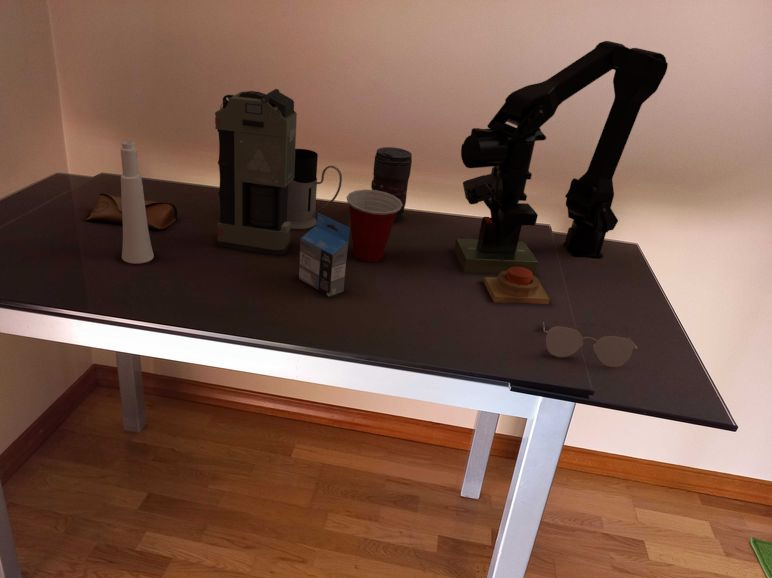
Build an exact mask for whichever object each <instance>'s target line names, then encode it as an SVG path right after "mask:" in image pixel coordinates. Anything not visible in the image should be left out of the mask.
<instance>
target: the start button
mask: <svg viewBox="0 0 772 578" xmlns="http://www.w3.org/2000/svg"><path fill="white" fill-rule="evenodd" d="M532 275H533V273H532V272H531V271H530V270H529V269H526V268H523V267H511V268H509V269H508V272H507V277H506V280H507V281H509V282H511V283H514V284H518V285H528V284H530V283H531V279H532ZM533 276H534V275H533Z"/></svg>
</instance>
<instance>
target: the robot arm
mask: <svg viewBox="0 0 772 578" xmlns="http://www.w3.org/2000/svg"><path fill="white" fill-rule="evenodd" d="M668 65H669V63H668V62H667V58H666V56H665V55H664V54H662V53H660V52H658V51H652V50H647V49H643V48H639V47H630V48H629V47H627V46H625V45H624V44H622V43H620V42H614V41H611V40H604V41H601V42H598V44H596V45H595V47H594V48H593V49H592V50H589V51H588V52H587V53H586V54H583V56H581V57H579V58H578V59H576V60H575V61H573V62H572V63H570V64H569V65H567V66H566V67H564V68H562V69H561V70H560V71H558V72H557V73H555V74H554V75H552V76H551V77H549V78H548V79H545V80H543V81H540V82H537V83H532V84H527V85H525V86H523V87H521V88H519V89H516V90H515V91H512V92H510V94H509V95H508V96H507V97H506V98H505V100H504V101H505V102H504V103H503V105H502V106H501V107H500V109H499V110H498V111H497V112H496V113H495V115H494V116H493V117H492V119H491V120H490V121H489V123H488V124H487V128H480V127H473V128H471V132H470V135H468V136H466V137H465V139H464V140H463V143H461V148H460V157H461V161H462V163H463V165H464V166H465V167H466V169H481V168H491V172H490V173H488V174H484V175H480V176H476V177H473V178H470V179H467V180H464V181H463V182H462V187H463V192H464V197H465V199H466V200H467V202H468V204H469V205H476V204H479V203H481V202H483V203H484V205H485V206H486V207H487V208H488V209H489V211H490V218H496V219H497V220H498V234H497V245H498V246H503V245H504V244H505V243H506V242H507V240H508V239H509V238H510V237H511V235H512V234H513V233H514V232H515V231H516V229H517V228H518V227H519V226H520V225H522V226H530V227H531V226H533V227H534V226H536V224H537V220H538V213H537V212H536V211H535V209H534V208H533V207H532V206H531V204H529V203H526V201H527V198H528V195H527V194H526V193H525V189H526V185H527V181H528V180H532V175H533V174H532V173H531V172H530V166H531V162H532V158H533V153H534V149H535V144H536V142H539V141H546V140H547V136H546V135H545V134H544V132H543V131H542V129H541V127H542V126H543V125H545V124H546V123H547V122H548V121H549V120H550V119H552V117H554V115H555V113H556V111H557V109H558V108H559V106H560V105H562V104H563V102H566V101H567V100H568V99H570V98H571V97H573V96H574V95H575V94H577V93H578V92H580V91H582V90H583V89H585V88H586V87H588V86H589V85H591V84H593V83H594V82H595V81H597V80H599V79H600V78H601V77H603V76H605V75H606V74H607V73H609V72H611V71H612V70H614V75H613V79H612V83H613V85H612V86H613V92H614V98H613V102H612V104H611V108H610V110H609V113H608V115H607V118H606V119H605V120H606V121H605V123H604V126H603V129H602V131H601V134H600V136H599V139H598V142H597V145H596V146H595V150H594V152H593V154H592V157H591V160H590V163H589V164H588V168H587V170H586V172H585V173H584V174H583V175H581V176H580V177H579V178H576V177H575V178H572V180H571V182H570V185H569V189H568V190H567V192H566V194H565V195H564V197H565V198H566V200H565V207H566V208H567V217H568V218H569V219H572V222H571V226H570V227H568V229H567V233H566V237H565V240H564V242H563V244H562V245H563V246H564V248H565V249H566V250H567V251H568V253H569V254H570V255H571V256H572V257H577V258H598V259H599V258H600V259H601V258H602V259H603V258H604V254H603V253H602V252H601V251H602V248H603V244H604V241H605V237H606V235H607V234H608V233H609V231H614V229H615V228H616V226H617V224H618V222H619V219H618V218H617V216H616V214H615V213H614V211H613V210H612V205H613V202H614V198H615V197H614V196H615V190H614V183H613V178H614V175H615V173H616V170H617V168H618V165H619V162H620V160H621V157H622V156H623V152H624V150H625V148H626V145H627V142H628V140H629V138H630V135H631V132H632V130H633V127H634V125H635V123H636V121H637V117H638V115H639V113H640V110H641V107H642V106H643V104H644V103H645V102H646V101H647V100H648V99H649V98H651V96H653V95H654V94H655V93H656V91H657V90H658V89H659V87H660V85H661V84H662V81H663V79H664V78H665V76H666V74H667V71H668ZM508 123H509V124H508ZM510 124H511V125H510ZM513 125H514V126H513ZM515 126H517V127H515Z"/></svg>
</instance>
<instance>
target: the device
mask: <svg viewBox="0 0 772 578" xmlns="http://www.w3.org/2000/svg"><path fill="white" fill-rule="evenodd" d="M214 115H215V117H214V124H215V127H214V128H215V130H217V132H218V133H217V134H218V143H219V144H218V146H219V147H218V160H217V165H218V169H219V189H218V190H219V191H218V194H217V195H218V197H219V221H217V223H216V228H217V237H216V241H217V246H218V247H222V248H227V249H235V250H240V251H247V252H253V253H260V254H265V255H271V256H272V255H273V256H282V255H284V254H285V253H286V252H287V251H288V249H289V248H290V244H291V243H290V242H291V229H292V228H291V222H287V204H288V184H289V183H290V182H291V181H292V180H293V179H294V170H295V149H296V140H297V115H298V113H297V112H296V111H295V101H294V99H292V98H290V97H289V96H287V95H285V94H284V93H281V91H280V89H278V88H274V89H273V90H270V91H269V92H268V93H263V92H260V91H255V90H249V91H240V92H238V93H236V94H226V95H224V96H223V97H222V103H221V104H220V106H219V110H216V111H215V112H214Z"/></svg>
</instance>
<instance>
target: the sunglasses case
mask: <svg viewBox="0 0 772 578" xmlns="http://www.w3.org/2000/svg"><path fill="white" fill-rule="evenodd" d="M144 201H145V209H146V217H147V224H148V230H160V231H161V230H165V229H167V228H169V227H170V226H172V225H173V224H174V223H175V222H176V221H177V218H178V209H177V207H176V206H175V204H173V203H172V202H167V201H153V200H147V199H144ZM86 221H96V222H104V223H108V224H114V225H122V226H123V219H122V198H121V196H118V195H112V194H108V193H105V192H104V193H102V192H101V193H100V194H99V198H98V199H97V200H96V203H95V205H94V207H93V208H92V210H91V212H90V214H89V216H88V217H87V218H86Z"/></svg>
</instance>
